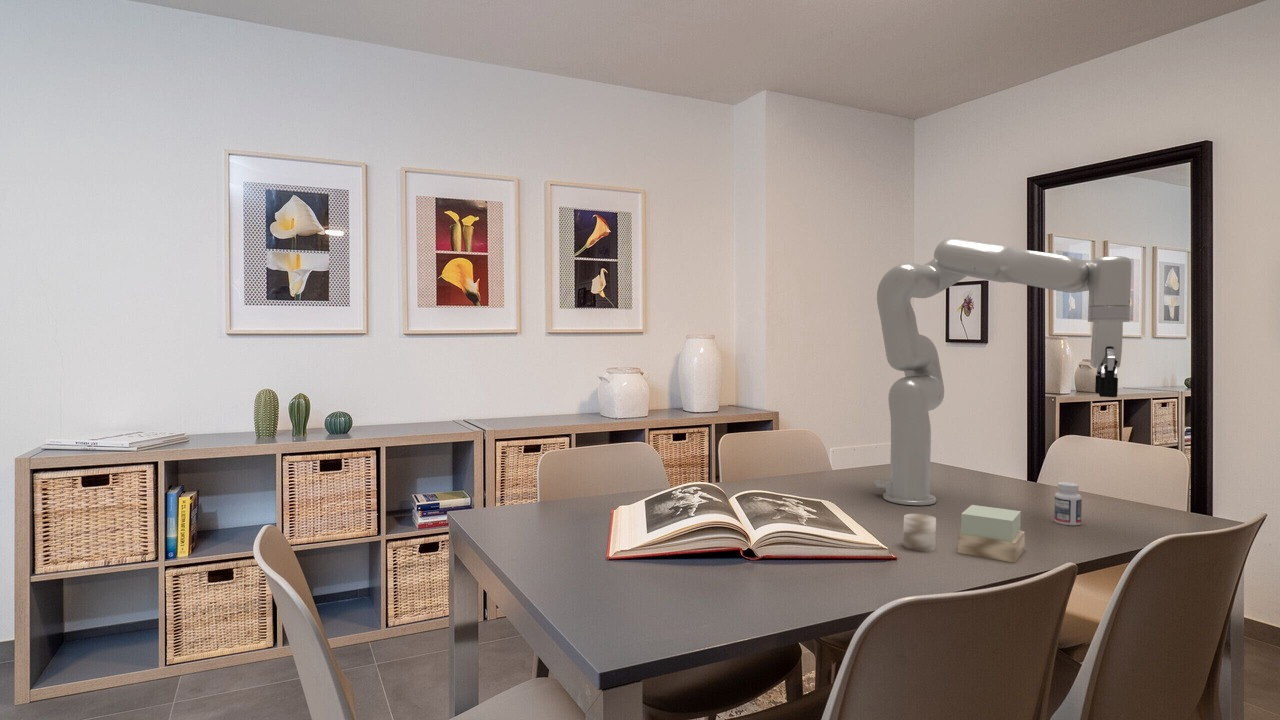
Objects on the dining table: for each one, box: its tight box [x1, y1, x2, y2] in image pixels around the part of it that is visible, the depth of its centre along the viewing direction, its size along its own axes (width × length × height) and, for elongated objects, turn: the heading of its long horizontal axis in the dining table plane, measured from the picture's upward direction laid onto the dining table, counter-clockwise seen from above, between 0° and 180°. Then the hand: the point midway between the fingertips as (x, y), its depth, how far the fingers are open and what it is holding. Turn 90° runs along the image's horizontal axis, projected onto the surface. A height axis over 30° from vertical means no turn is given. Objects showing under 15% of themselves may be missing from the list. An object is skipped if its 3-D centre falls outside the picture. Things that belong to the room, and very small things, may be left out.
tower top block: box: [960, 504, 1022, 542], centre depth 143 cm, size 9×9×4 cm
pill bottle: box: [1053, 481, 1083, 526], centre depth 165 cm, size 5×5×9 cm
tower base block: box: [957, 530, 1026, 563], centre depth 143 cm, size 10×10×4 cm
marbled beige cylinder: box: [902, 513, 937, 553], centre depth 146 cm, size 6×6×6 cm
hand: (1105, 395), depth 156 cm, fingers open, 9 cm apart
